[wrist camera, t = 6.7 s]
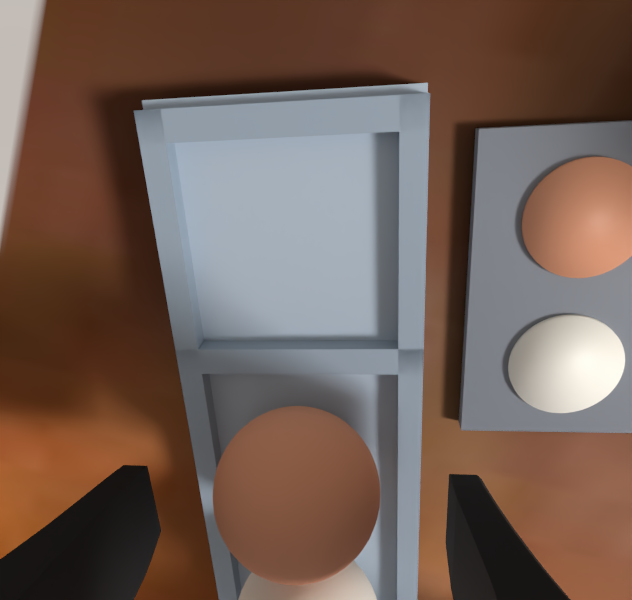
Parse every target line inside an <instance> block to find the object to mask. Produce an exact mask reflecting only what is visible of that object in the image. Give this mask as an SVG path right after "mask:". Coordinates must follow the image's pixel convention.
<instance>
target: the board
mask: <svg viewBox="0 0 632 600" xmlns="http://www.w3.org/2000/svg"><path fill="white" fill-rule="evenodd" d="M142 105H143V110H135V111H134V116H135V122H136V127H137V133H138V139H139V144H140V150H141V156H142V162H143V167H144V173H145V179H146V185H147V190H148V196H149V202H150V208H151V213H152V219H153V225H154V230H155V236H156V242H157V248H158V253H159V259H160V265H161V271H162V276H163V282H164V288H165V294H166V299H167V305H168V311H169V316H170V322H171V328H172V334H173V339H174V345H175V351H176V357H177V362H178V368H179V374H180V380H181V385H182V391H183V397H184V403H185V408H186V414H187V420H188V425H189V431H190V437H191V443H192V448H193V454H194V460H195V466H196V471H197V477H198V483H199V489H200V494H201V500H202V506H203V511H204V517H205V523H206V529H207V534H208V540H209V546H210V552H211V557H212V563H213V569H214V575H215V580H216V586H217V592H218V598H219V600H238V599H239V596H240V593H241V590H242V588H243V586H244V584H245V582H246V581H247V579H248V577H249V575H250V574H251V573H252V572H251V571H249V570H248V569H247V568H245V567H244V566H243V565H242V564H241V563H240V562H239V561H238V560H237V559H236V558H235V557H234V556H233V554H232V553H231V552H230V551H229V549H228V548H227V546H226V544H225V542H224V541H223V539H222V537H221V535H220V532H219V530H218V527H217V523H216V520H215V516H214V509H213V498H212V497H213V485H214V478H215V474H216V470H217V467H218V464H219V461H220V459H221V457H222V455H223V453H224V450H225V449H226V447H227V446H228V444H229V443H230V441H231V440H232V439H233V437H234V436H235V435H236V434H237V433H238V432H239V430H241V429H242V428H243V427H244V426H245V425H246V424H248V423H249V422H250V421H251V420H253V419H255V418H256V417H258V416H260V415H262V414H264V413H266V412H268V411H271V410H274V409H277V408H282V407H287V406H307V407H313V408H317V409H321V410H324V411H327V412H329V413H332V414H333V415H335V416H337V417H339V418H340V419H342V420H343V421H345V422H346V423H347V424H348V425H350V426H351V427H352V428H353V429H354V430H355V431H356V432H357V433H358V434H359V435H360V437H361V438H362V439H363V441H364V442H365V444H366V445H367V447H368V449H369V450H370V452H371V454H372V457H373V459H374V462H375V464H376V467H377V471H378V475H379V482H380V508H379V513H378V517H377V521H376V525H375V527H374V530H373V532H372V534H371V537H370V539H369V541H368V542H367V544H366V545H365V547H364V548H363V550H362V551H361V553H360V554H359V555H358V556H357V557H356V559H354V561H355V562H356V564H357V565H358V566H359V567H360V568H361V569H362V570H363V572H364V573H365V575H366V576H367V578H368V580H369V582H370V584H371V586H372V588H373V590H374V593H375V595H376V599H377V600H417V590H418V551H419V511H420V472H421V433H422V393H423V354H424V315H425V275H426V236H427V197H428V157H429V118H430V93H428V83H416V84H400V85H384V86H368V87H351V88H335V89H319V90H303V91H286V92H270V93H254V94H237V95H221V96H205V97H189V98H172V99H156V100H142Z"/></svg>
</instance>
